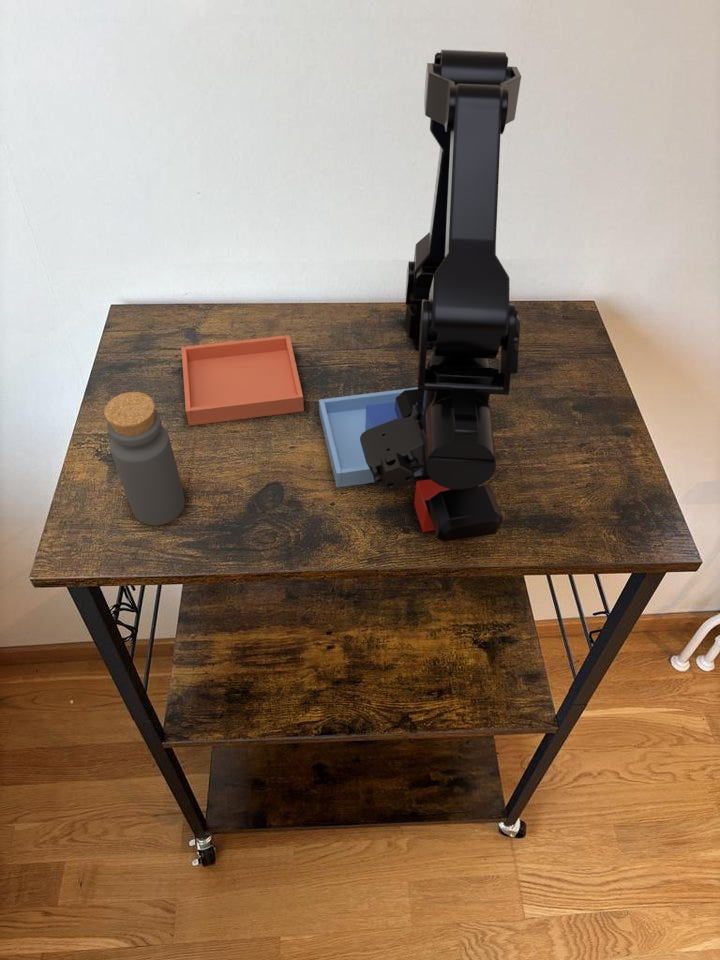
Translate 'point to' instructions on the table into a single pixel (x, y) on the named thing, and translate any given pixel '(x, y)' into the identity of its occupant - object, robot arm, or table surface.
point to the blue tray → (350, 434)
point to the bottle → (144, 459)
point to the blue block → (379, 414)
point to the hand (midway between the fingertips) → (436, 509)
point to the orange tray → (240, 380)
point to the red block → (424, 492)
